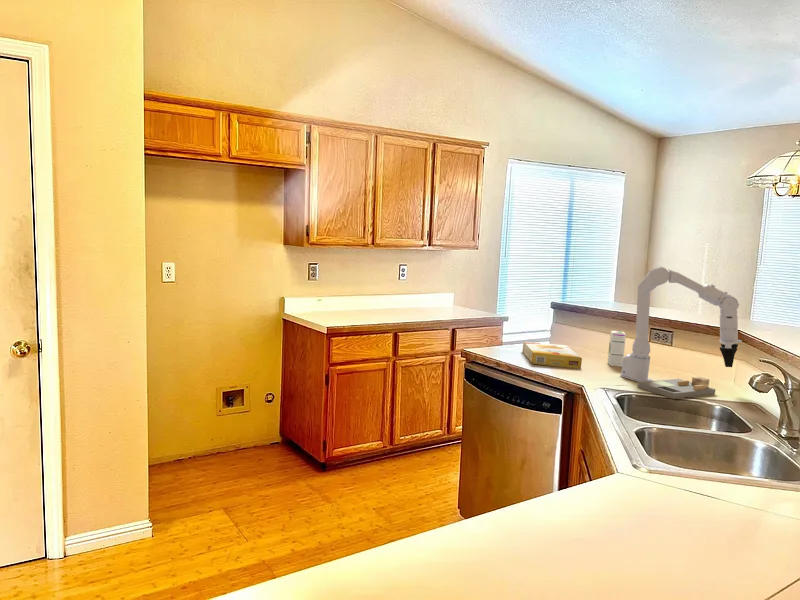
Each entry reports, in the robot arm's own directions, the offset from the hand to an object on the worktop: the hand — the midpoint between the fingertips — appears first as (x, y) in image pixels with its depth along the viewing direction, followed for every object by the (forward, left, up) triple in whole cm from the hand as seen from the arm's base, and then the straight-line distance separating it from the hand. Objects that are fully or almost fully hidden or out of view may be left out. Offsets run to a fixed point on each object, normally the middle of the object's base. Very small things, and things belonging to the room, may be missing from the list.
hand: (729, 365), depth 216 cm
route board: (-6, -19, -10) cm, 23 cm away
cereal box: (-60, -30, -11) cm, 68 cm away
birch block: (-3, -11, -8) cm, 14 cm away
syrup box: (-45, -7, -10) cm, 47 cm away
